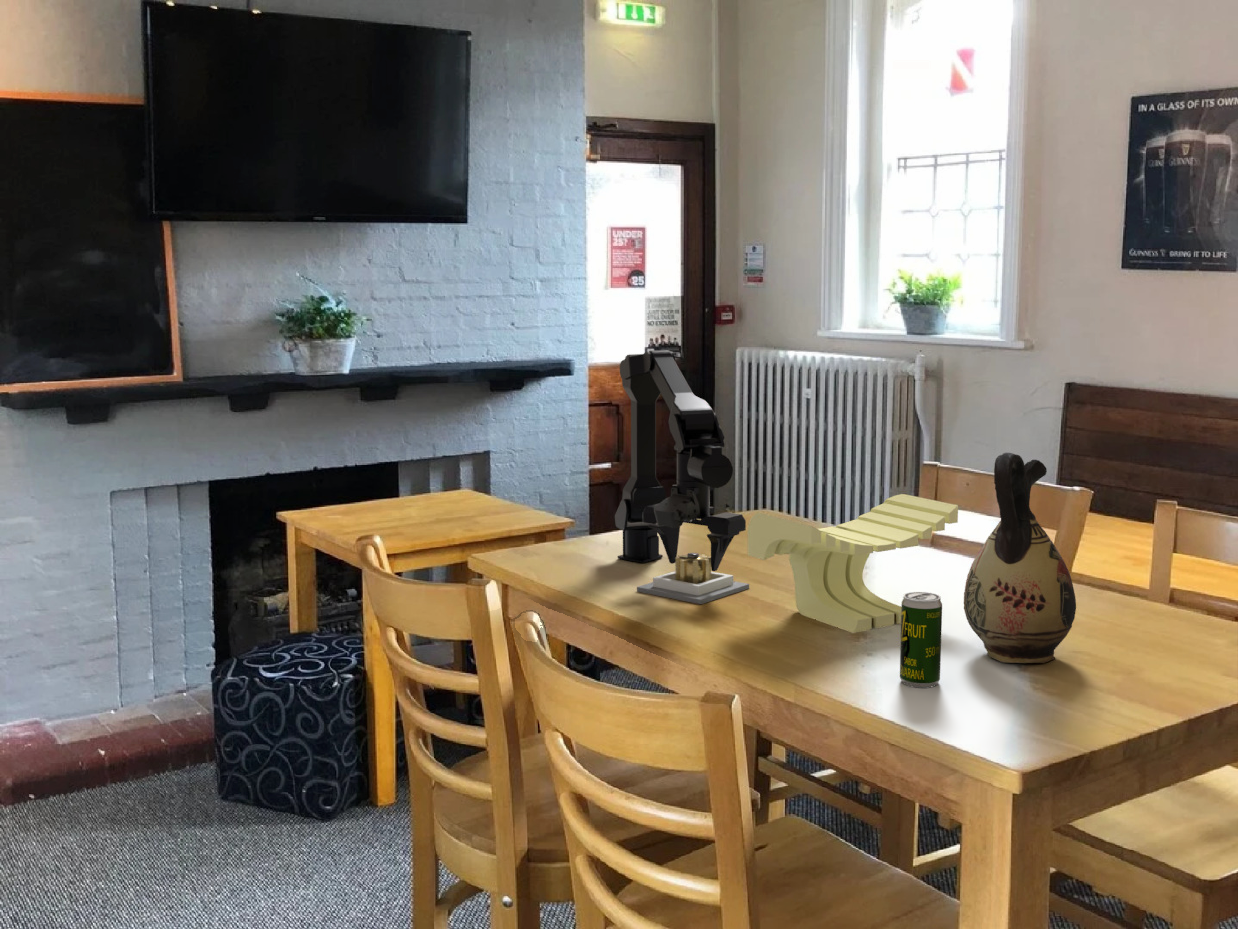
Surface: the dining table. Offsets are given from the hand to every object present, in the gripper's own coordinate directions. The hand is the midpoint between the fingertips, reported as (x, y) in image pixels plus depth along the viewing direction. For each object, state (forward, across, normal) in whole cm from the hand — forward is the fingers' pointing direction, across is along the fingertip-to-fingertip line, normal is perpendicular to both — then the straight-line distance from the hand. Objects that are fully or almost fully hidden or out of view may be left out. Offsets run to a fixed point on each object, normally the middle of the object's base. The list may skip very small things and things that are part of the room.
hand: (693, 567), depth 228 cm
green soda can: (+4, +55, -21) cm, 59 cm away
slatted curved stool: (+4, +30, +3) cm, 30 cm away
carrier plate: (+4, 0, 0) cm, 4 cm away
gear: (+3, 0, 0) cm, 3 cm away
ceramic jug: (+4, +60, -2) cm, 60 cm away
